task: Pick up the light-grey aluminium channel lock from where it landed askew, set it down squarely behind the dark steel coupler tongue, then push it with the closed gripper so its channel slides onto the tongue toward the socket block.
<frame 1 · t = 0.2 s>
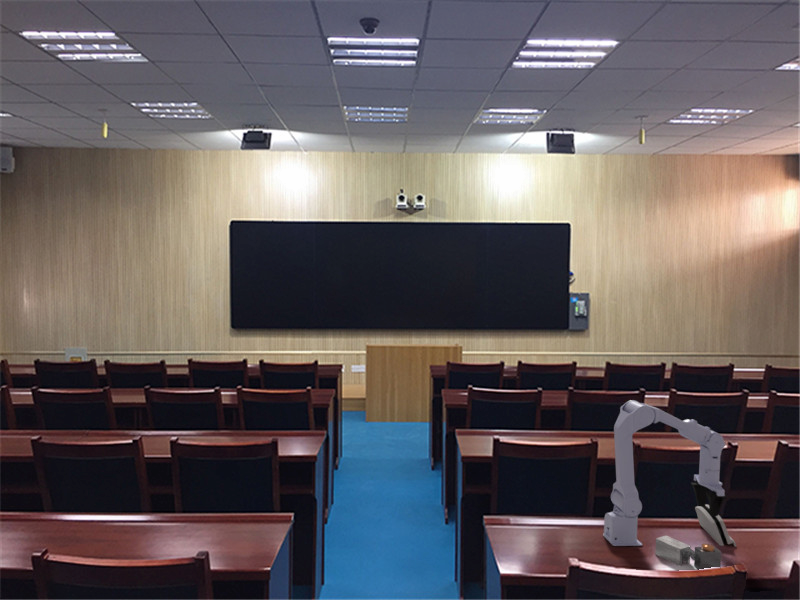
hand: (707, 510, 184), 10 cm above the table, fingers open, 7 cm apart
grey black curved block: (713, 536, 190), on the table
coupler: (698, 561, 171), on the table
lock: (672, 558, 172), on the table
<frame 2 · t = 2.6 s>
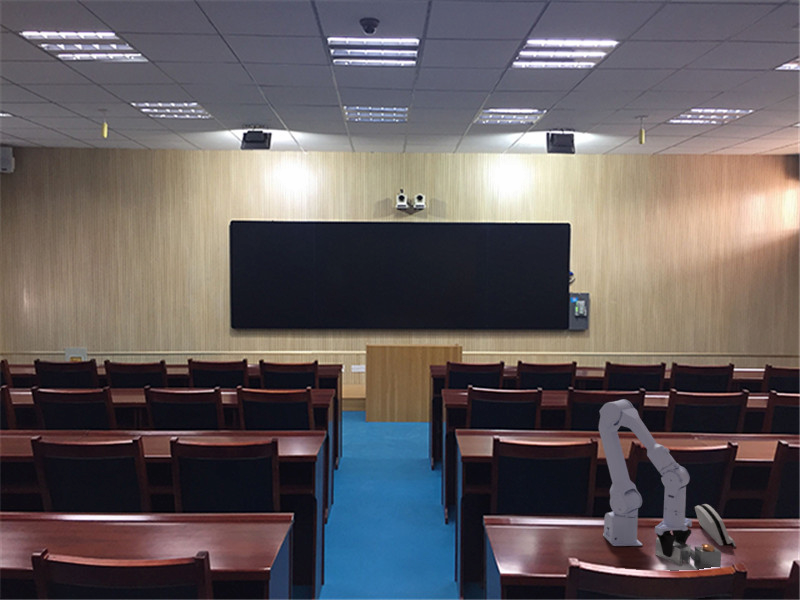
hand: (672, 553, 172), 1 cm above the table, fingers closed on lock, 5 cm apart
lock: (672, 558, 172), on the table, touching gripper
everything else where it was.
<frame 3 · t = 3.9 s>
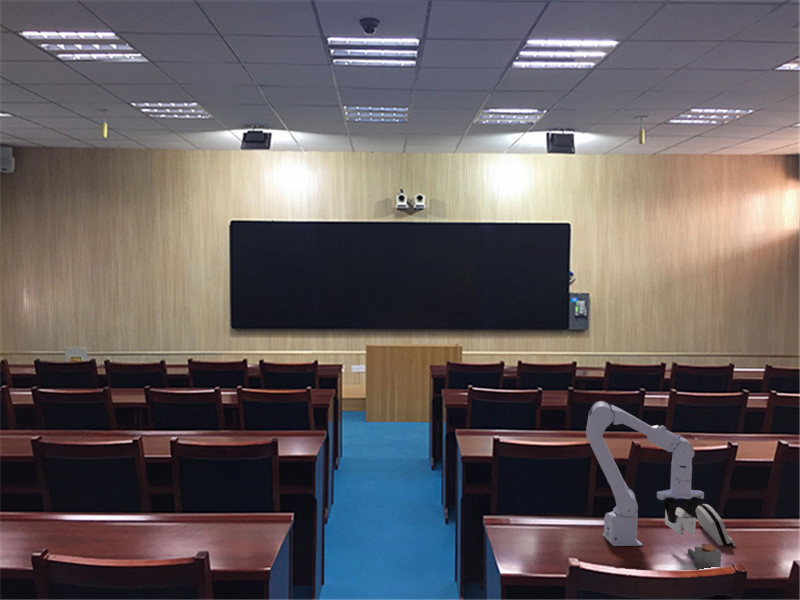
hand: (679, 521, 179), 8 cm above the table, fingers closed on lock, 5 cm apart
lock: (679, 528, 178), point 6 cm above the table, touching gripper
everything else where it was.
when the fingers open (2 cm above the table, at t = 5.5 s): lock stays where it is, on the table.
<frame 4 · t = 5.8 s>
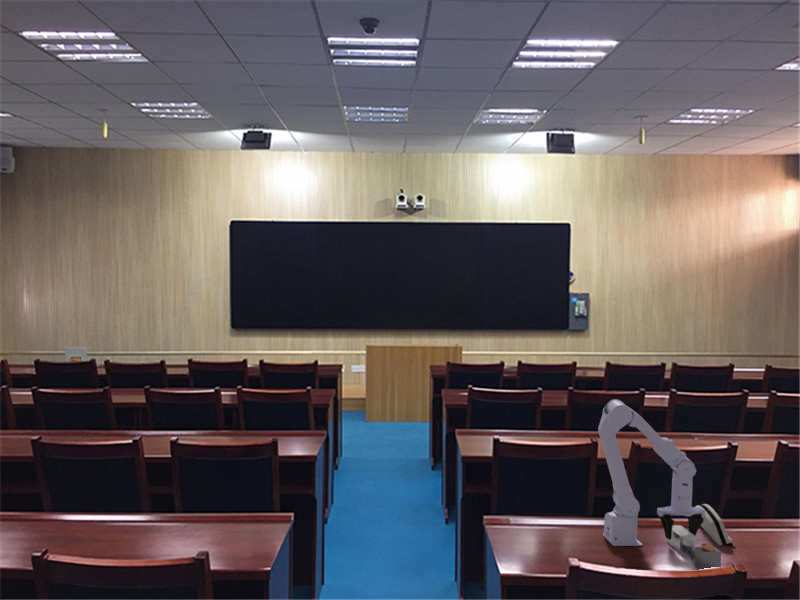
hand: (679, 538, 181), 2 cm above the table, fingers open, 7 cm apart
lock: (680, 546, 181), on the table
everything else where it was.
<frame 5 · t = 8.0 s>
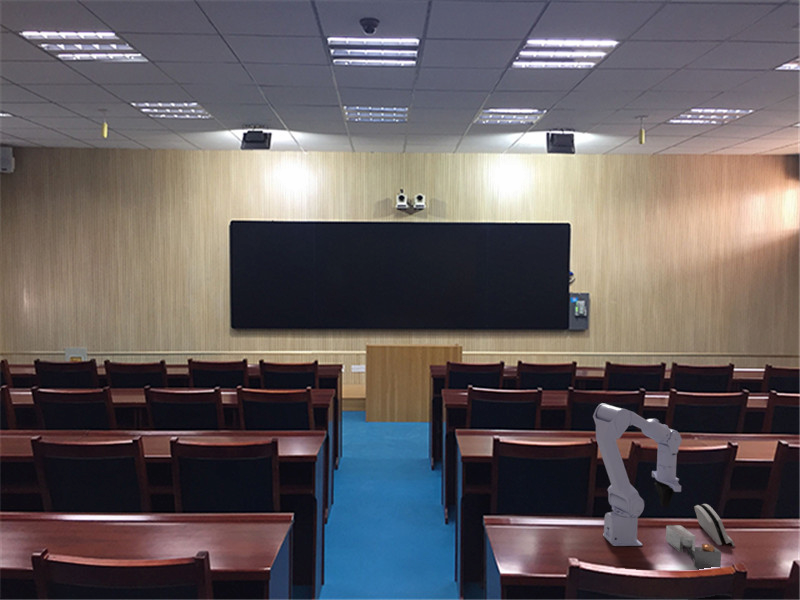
hand: (664, 505, 190), 9 cm above the table, fingers closed
nothing on the table moved.
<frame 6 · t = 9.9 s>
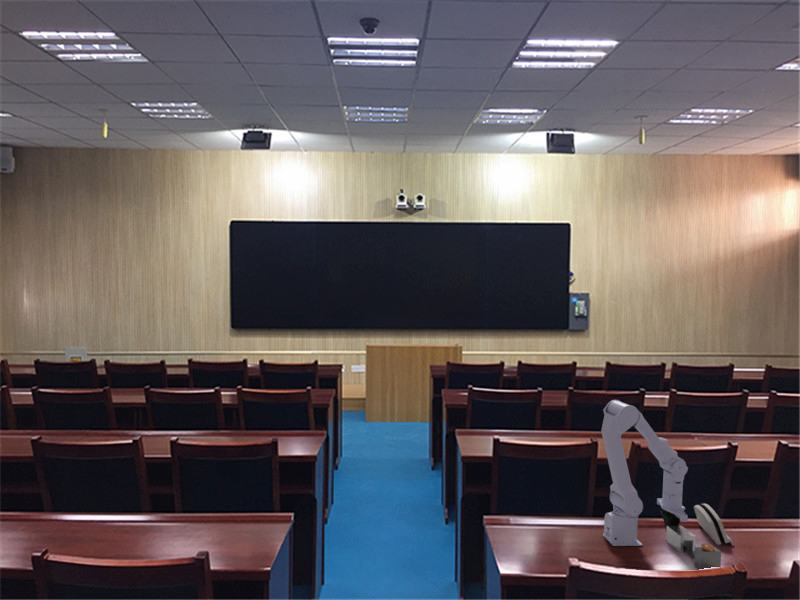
hand: (670, 534, 186), 1 cm above the table, fingers closed
lock: (680, 546, 180), on the table, touching gripper
everything else where it was.
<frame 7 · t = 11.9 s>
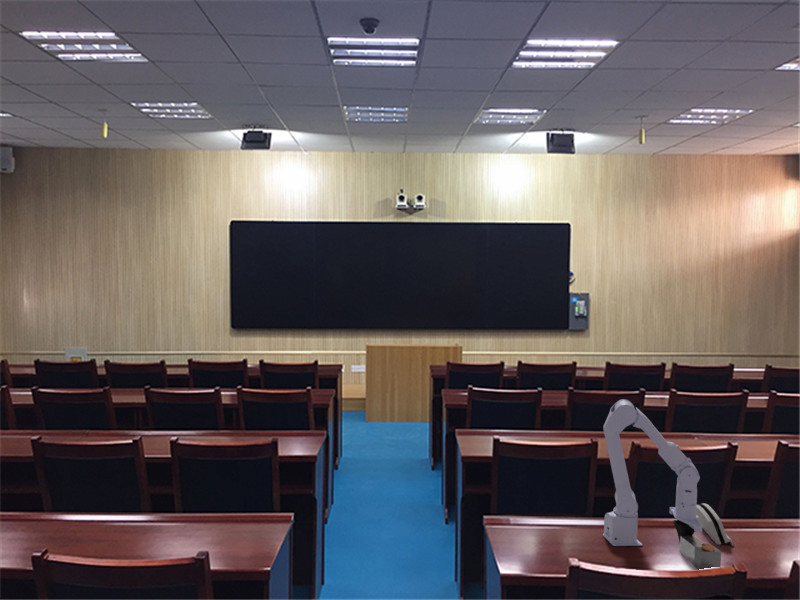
hand: (684, 545, 178), 1 cm above the table, fingers closed
lock: (694, 558, 173), resting in coupler, touching gripper
everything else where it was.
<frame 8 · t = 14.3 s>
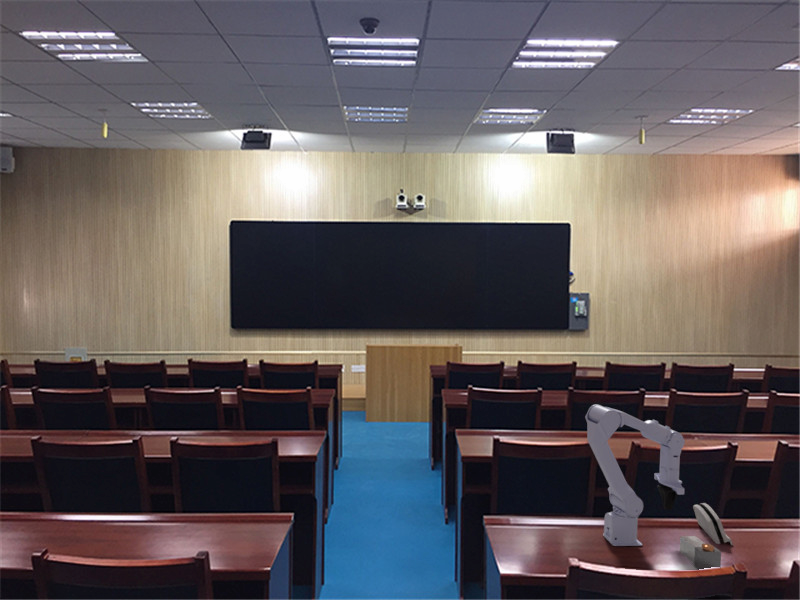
hand: (667, 508, 186), 9 cm above the table, fingers closed
lock: (694, 558, 173), resting in coupler
at the end: lock 0.2 cm from the target spot, resting in coupler; lock tilted 0°; the gripper is holding nothing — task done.
